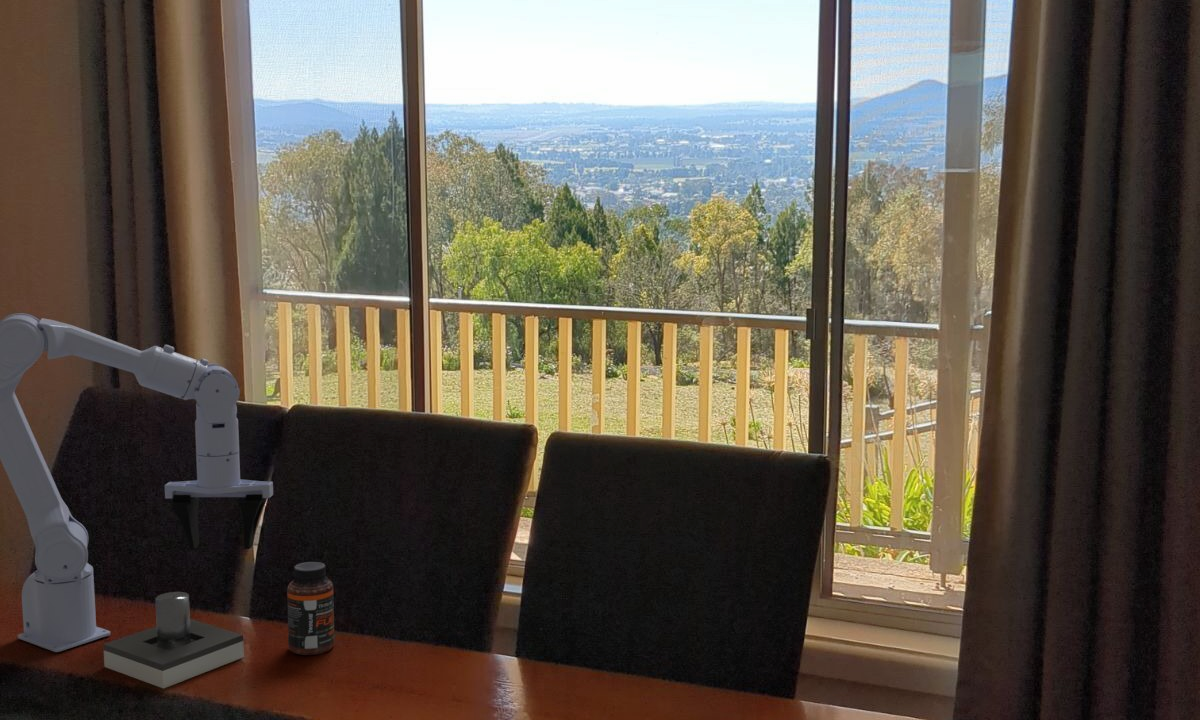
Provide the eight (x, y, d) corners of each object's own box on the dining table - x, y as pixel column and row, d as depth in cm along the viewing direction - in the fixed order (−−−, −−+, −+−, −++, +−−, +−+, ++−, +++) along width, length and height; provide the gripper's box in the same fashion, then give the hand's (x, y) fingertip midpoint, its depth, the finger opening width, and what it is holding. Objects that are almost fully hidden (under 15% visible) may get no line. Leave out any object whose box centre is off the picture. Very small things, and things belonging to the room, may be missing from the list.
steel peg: (151, 658, 146) (148, 598, 145) (178, 649, 150) (175, 589, 149) (171, 665, 144) (168, 604, 143) (198, 655, 148) (195, 595, 147)
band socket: (104, 666, 145) (103, 644, 145) (185, 638, 155) (184, 616, 155) (163, 688, 139) (162, 664, 138) (243, 657, 149) (243, 634, 148)
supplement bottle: (322, 658, 148) (320, 574, 147) (280, 655, 149) (277, 571, 148) (342, 642, 154) (340, 560, 153) (301, 638, 155) (298, 557, 154)
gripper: (277, 446, 164) (280, 538, 166) (175, 446, 164) (179, 539, 165) (264, 456, 157) (267, 553, 159) (157, 457, 157) (162, 553, 158)
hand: (221, 547), depth 162 cm, fingers open, 7 cm apart
